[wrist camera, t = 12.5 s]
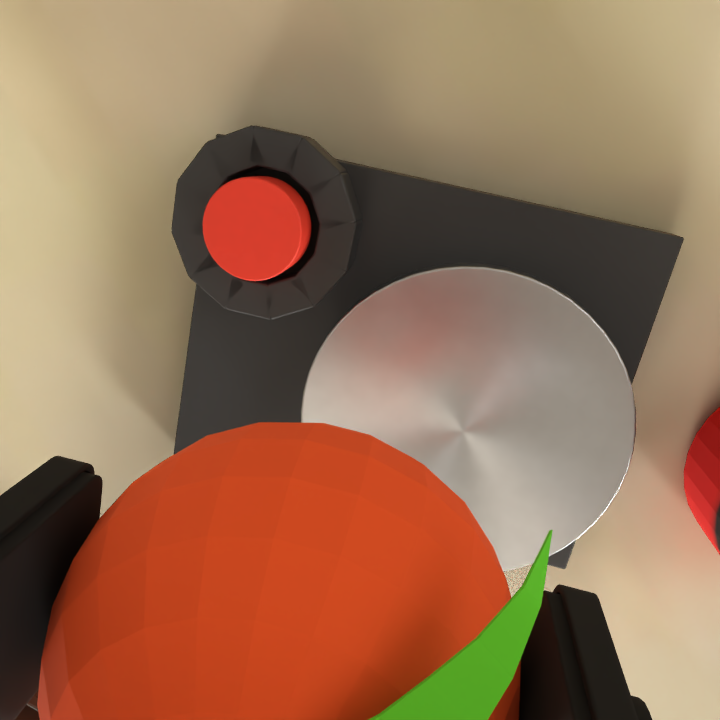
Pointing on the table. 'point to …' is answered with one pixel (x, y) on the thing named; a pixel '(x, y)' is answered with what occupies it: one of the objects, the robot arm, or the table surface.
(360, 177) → the scale
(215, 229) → the button
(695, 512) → the soda can
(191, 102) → the table surface
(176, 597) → the clementine
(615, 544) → the table surface
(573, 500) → the pan
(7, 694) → the robot arm
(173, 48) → the table surface
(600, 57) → the table surface
